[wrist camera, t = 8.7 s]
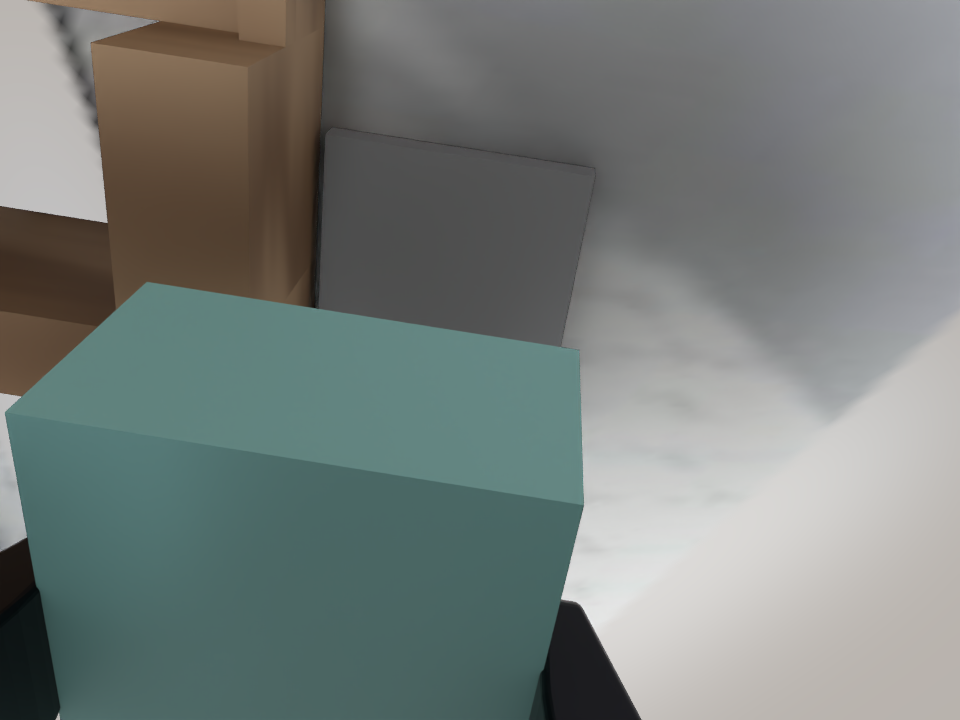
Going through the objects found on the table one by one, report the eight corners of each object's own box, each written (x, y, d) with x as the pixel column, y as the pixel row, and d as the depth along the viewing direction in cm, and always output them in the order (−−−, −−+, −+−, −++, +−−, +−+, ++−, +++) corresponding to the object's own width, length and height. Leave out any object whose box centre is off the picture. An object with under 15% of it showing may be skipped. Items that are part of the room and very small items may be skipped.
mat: (548, 392, 20) (548, 405, 19) (322, 355, 20) (315, 368, 20) (594, 168, 17) (595, 176, 17) (332, 127, 17) (325, 134, 17)
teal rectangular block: (478, 815, 12) (459, 1009, 10) (181, 766, 13) (101, 948, 10) (578, 350, 9) (583, 504, 6) (146, 281, 9) (5, 412, 6)
